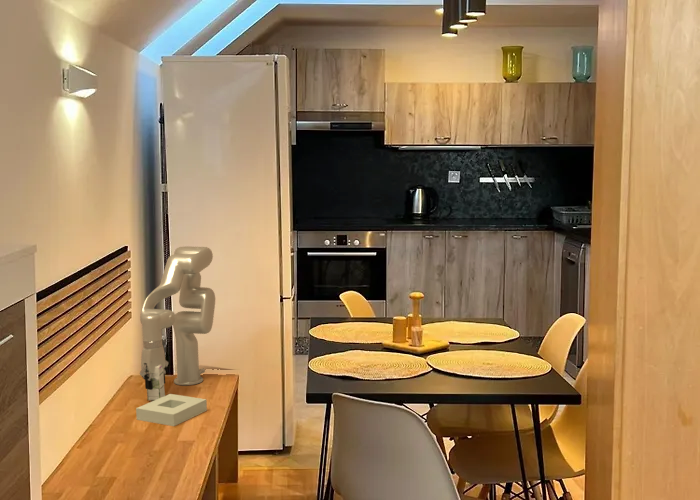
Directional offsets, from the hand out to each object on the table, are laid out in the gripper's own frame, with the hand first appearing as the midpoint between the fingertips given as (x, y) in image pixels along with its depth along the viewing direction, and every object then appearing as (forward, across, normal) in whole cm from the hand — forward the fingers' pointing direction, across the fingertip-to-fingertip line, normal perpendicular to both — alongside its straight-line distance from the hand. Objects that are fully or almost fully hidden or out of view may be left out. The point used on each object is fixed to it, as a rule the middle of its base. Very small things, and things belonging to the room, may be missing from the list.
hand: (155, 386), depth 332 cm
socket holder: (+6, +11, +17) cm, 21 cm away
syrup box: (+6, 0, 0) cm, 6 cm away
